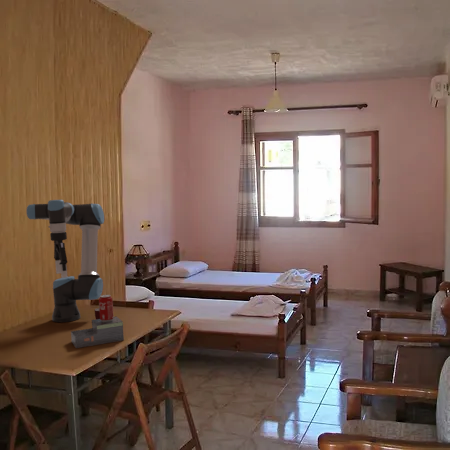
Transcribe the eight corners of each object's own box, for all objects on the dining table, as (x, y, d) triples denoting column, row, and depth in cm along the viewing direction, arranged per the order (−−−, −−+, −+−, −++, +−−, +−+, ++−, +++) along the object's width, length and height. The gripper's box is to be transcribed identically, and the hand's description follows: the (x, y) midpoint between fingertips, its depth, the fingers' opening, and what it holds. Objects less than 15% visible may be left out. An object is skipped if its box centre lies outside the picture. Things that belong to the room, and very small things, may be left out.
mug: (106, 331, 277) (105, 312, 276) (91, 331, 278) (89, 312, 277) (114, 326, 287) (112, 307, 286) (99, 326, 289) (98, 307, 288)
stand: (71, 344, 262) (70, 319, 261) (117, 337, 271) (116, 313, 270) (76, 351, 251) (74, 325, 250) (124, 343, 260) (122, 318, 259)
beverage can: (101, 319, 265) (99, 294, 264) (114, 318, 265) (112, 293, 264) (99, 322, 259) (97, 297, 258) (112, 321, 259) (111, 296, 258)
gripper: (45, 230, 276) (49, 272, 278) (54, 234, 254) (58, 280, 256) (61, 229, 279) (64, 270, 281) (71, 233, 257) (75, 278, 259)
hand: (61, 275), depth 269 cm, fingers open, 13 cm apart
